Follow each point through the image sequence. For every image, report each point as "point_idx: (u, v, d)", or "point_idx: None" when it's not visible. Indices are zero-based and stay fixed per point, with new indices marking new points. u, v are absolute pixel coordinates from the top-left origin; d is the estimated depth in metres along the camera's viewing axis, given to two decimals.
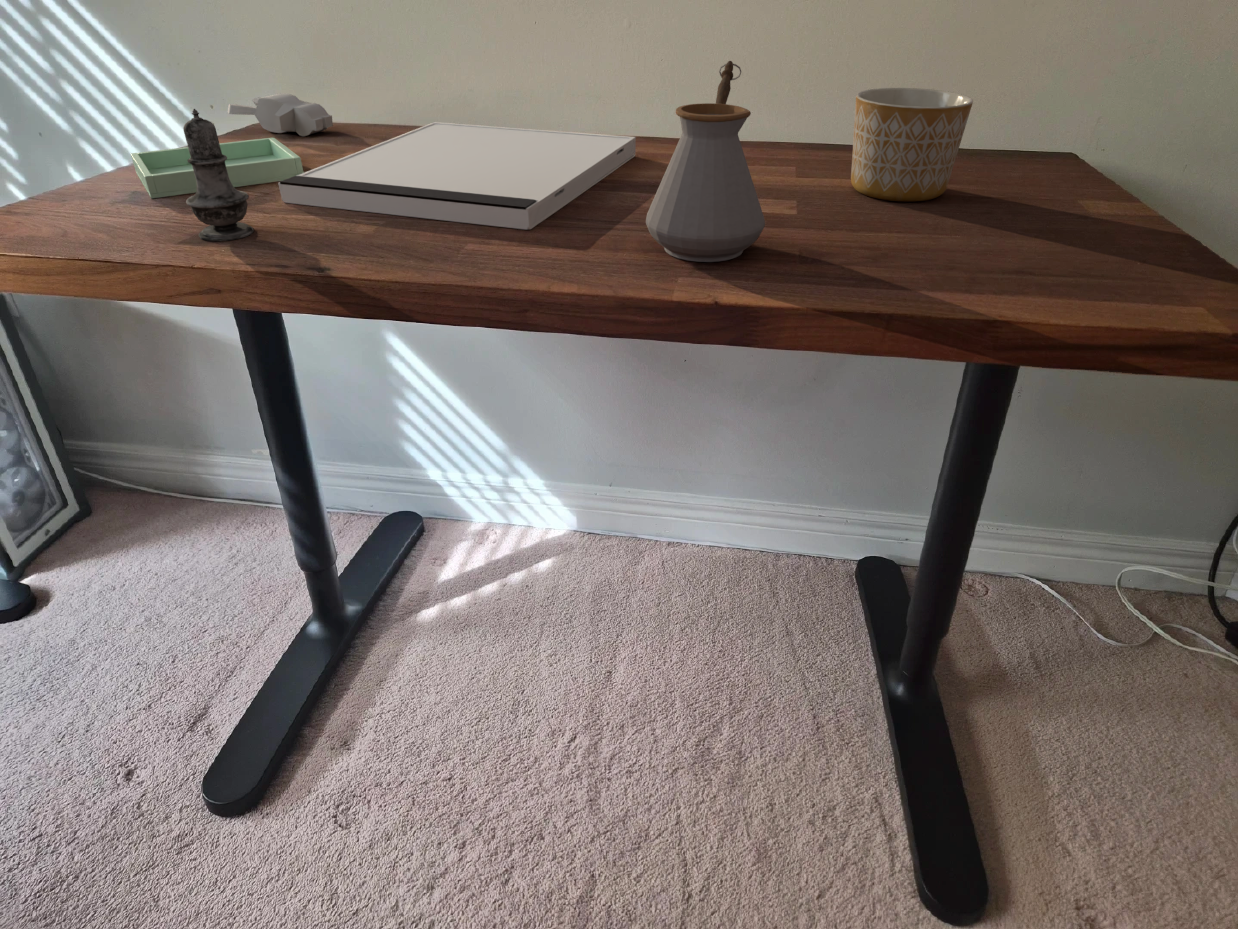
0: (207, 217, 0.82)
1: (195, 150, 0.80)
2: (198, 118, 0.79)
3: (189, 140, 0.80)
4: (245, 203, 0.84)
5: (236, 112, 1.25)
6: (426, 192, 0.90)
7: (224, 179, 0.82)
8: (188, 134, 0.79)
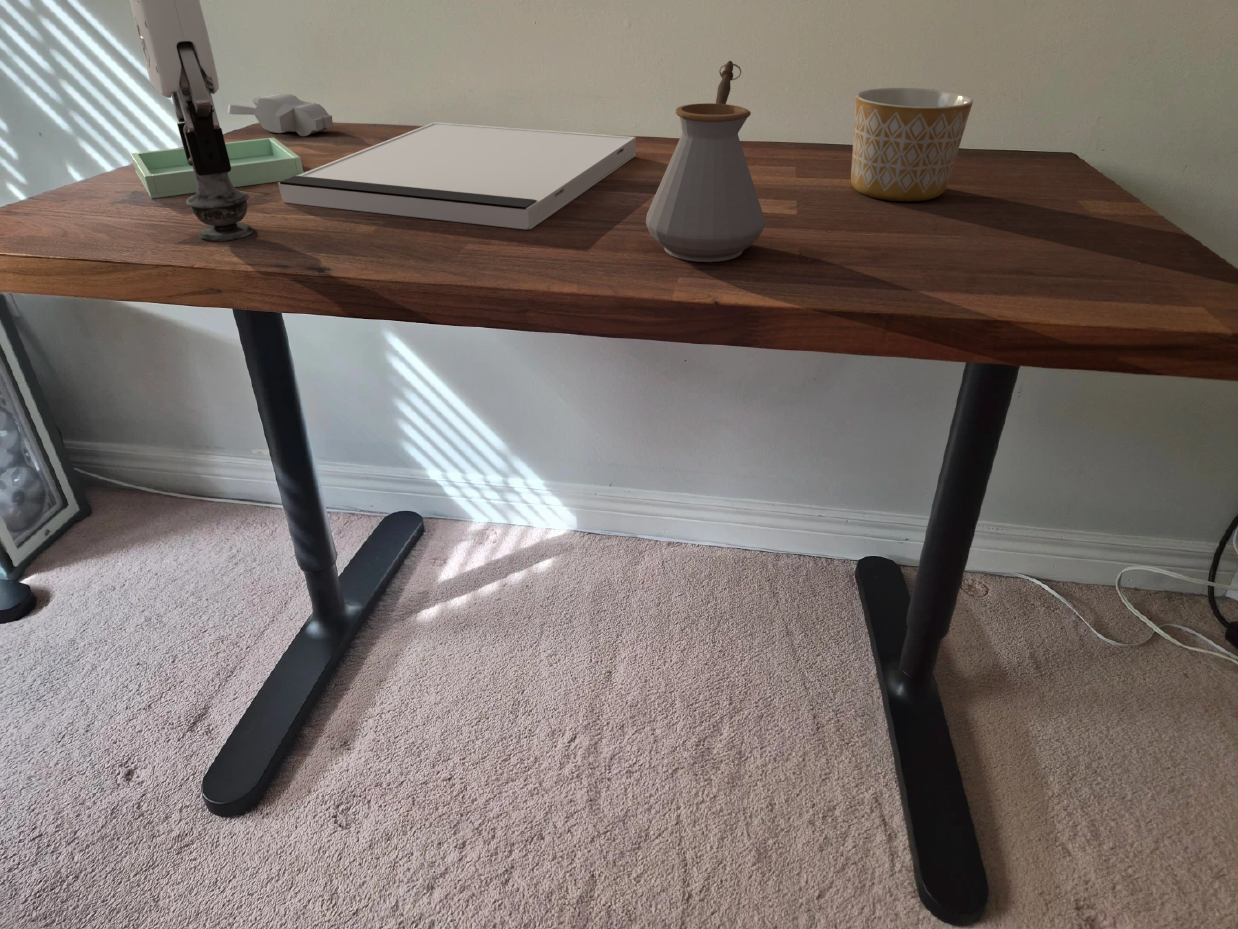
0: (207, 217, 0.82)
1: None
2: None
3: None
4: (245, 203, 0.84)
5: (236, 112, 1.25)
6: (426, 192, 0.90)
7: (224, 179, 0.82)
8: None
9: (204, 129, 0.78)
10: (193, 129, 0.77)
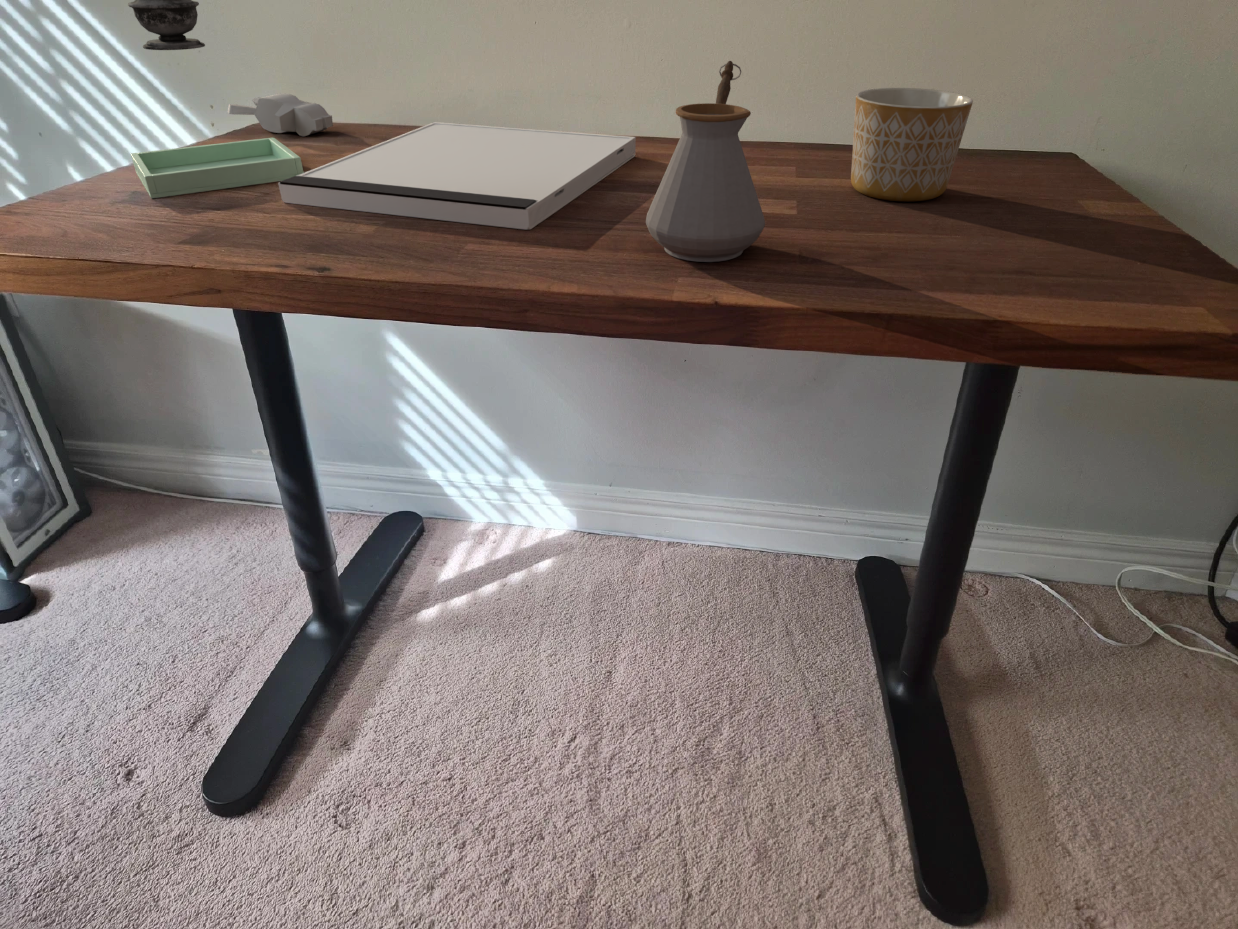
0: (151, 20, 0.74)
1: None
2: None
3: None
4: (194, 10, 0.76)
5: (236, 112, 1.25)
6: (426, 192, 0.90)
7: None
8: None
9: None
10: None
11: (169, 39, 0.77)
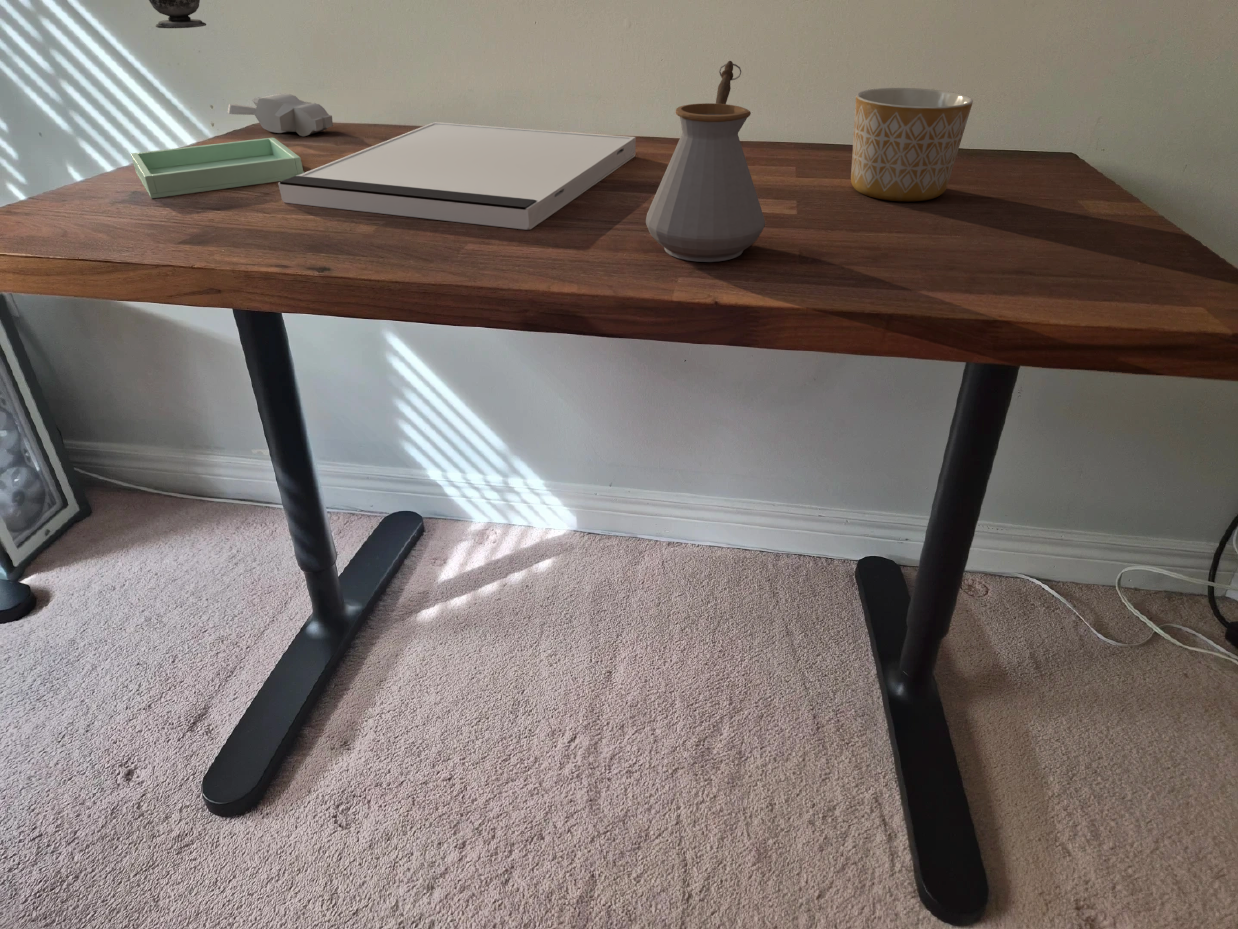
0: (162, 3, 0.91)
1: None
2: None
3: None
4: None
5: (236, 112, 1.25)
6: (426, 192, 0.90)
7: None
8: None
9: None
10: None
11: (177, 19, 0.93)
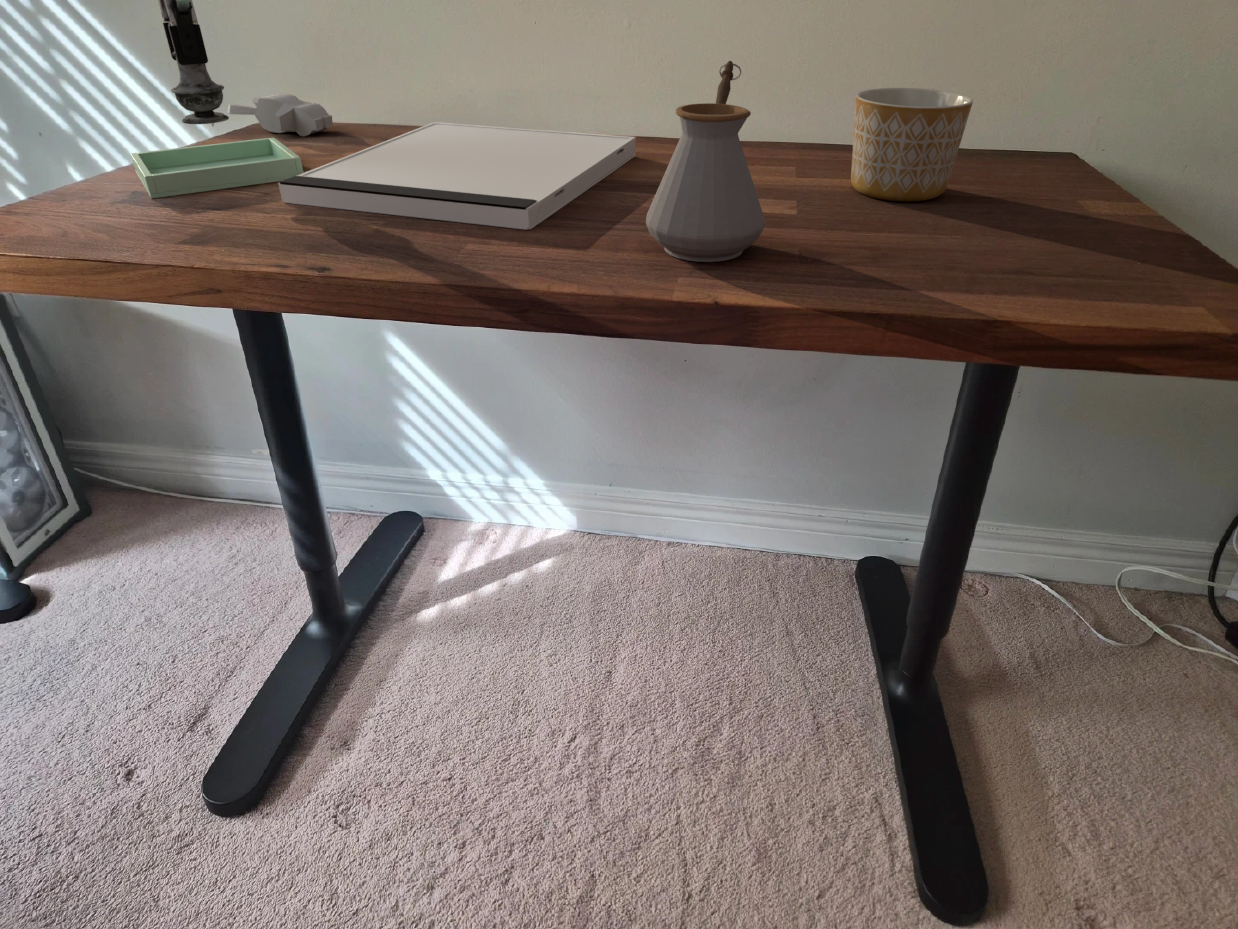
0: (189, 102, 0.98)
1: None
2: None
3: None
4: (221, 93, 1.00)
5: (236, 112, 1.25)
6: (426, 192, 0.90)
7: (202, 70, 0.98)
8: None
9: (184, 23, 0.93)
10: (175, 23, 0.93)
11: (202, 115, 1.00)
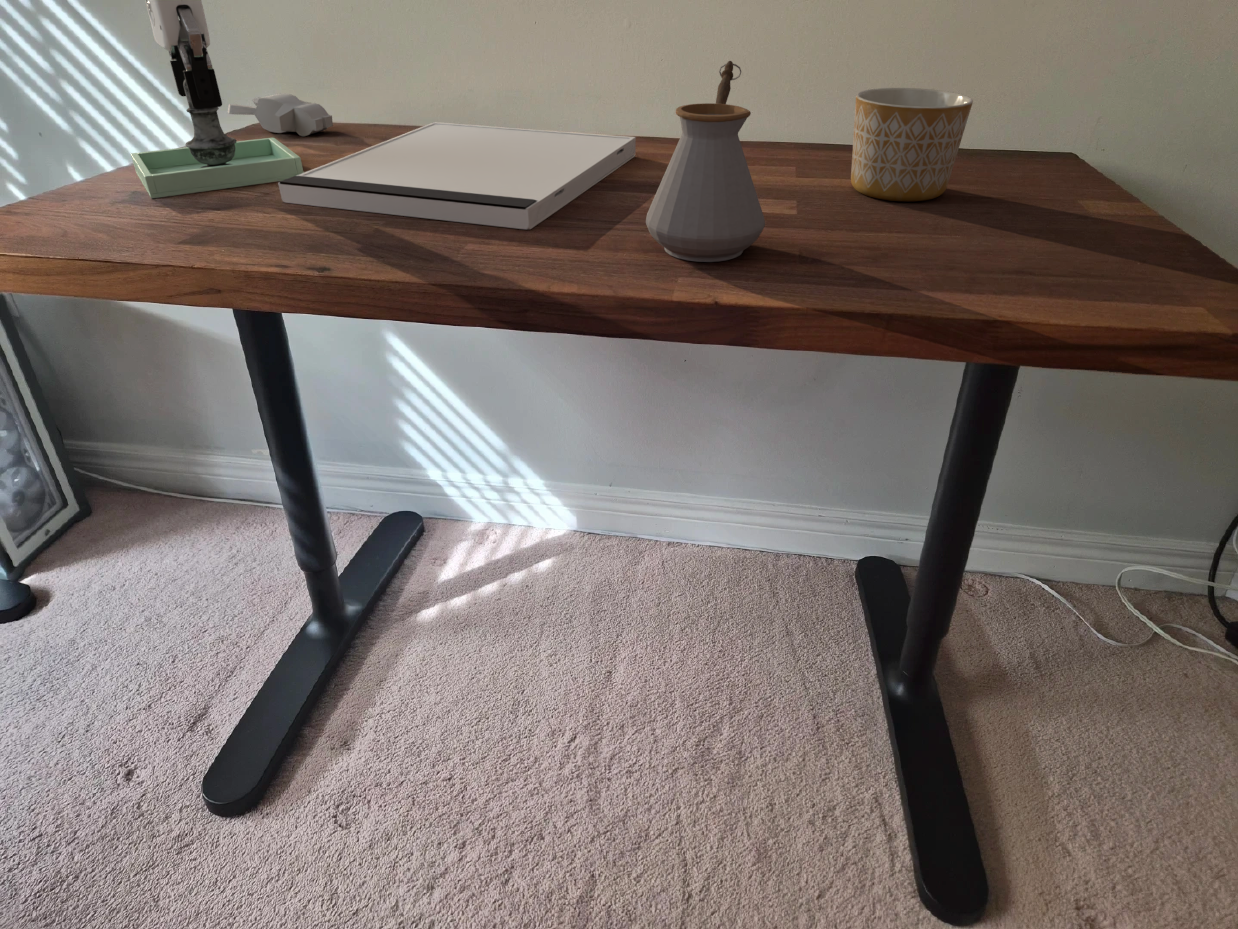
0: (203, 156, 1.02)
1: None
2: None
3: (188, 92, 0.99)
4: (233, 146, 1.04)
5: (236, 112, 1.25)
6: (426, 192, 0.90)
7: (216, 125, 1.01)
8: (187, 88, 0.98)
9: (199, 68, 0.94)
10: (190, 68, 0.93)
11: None
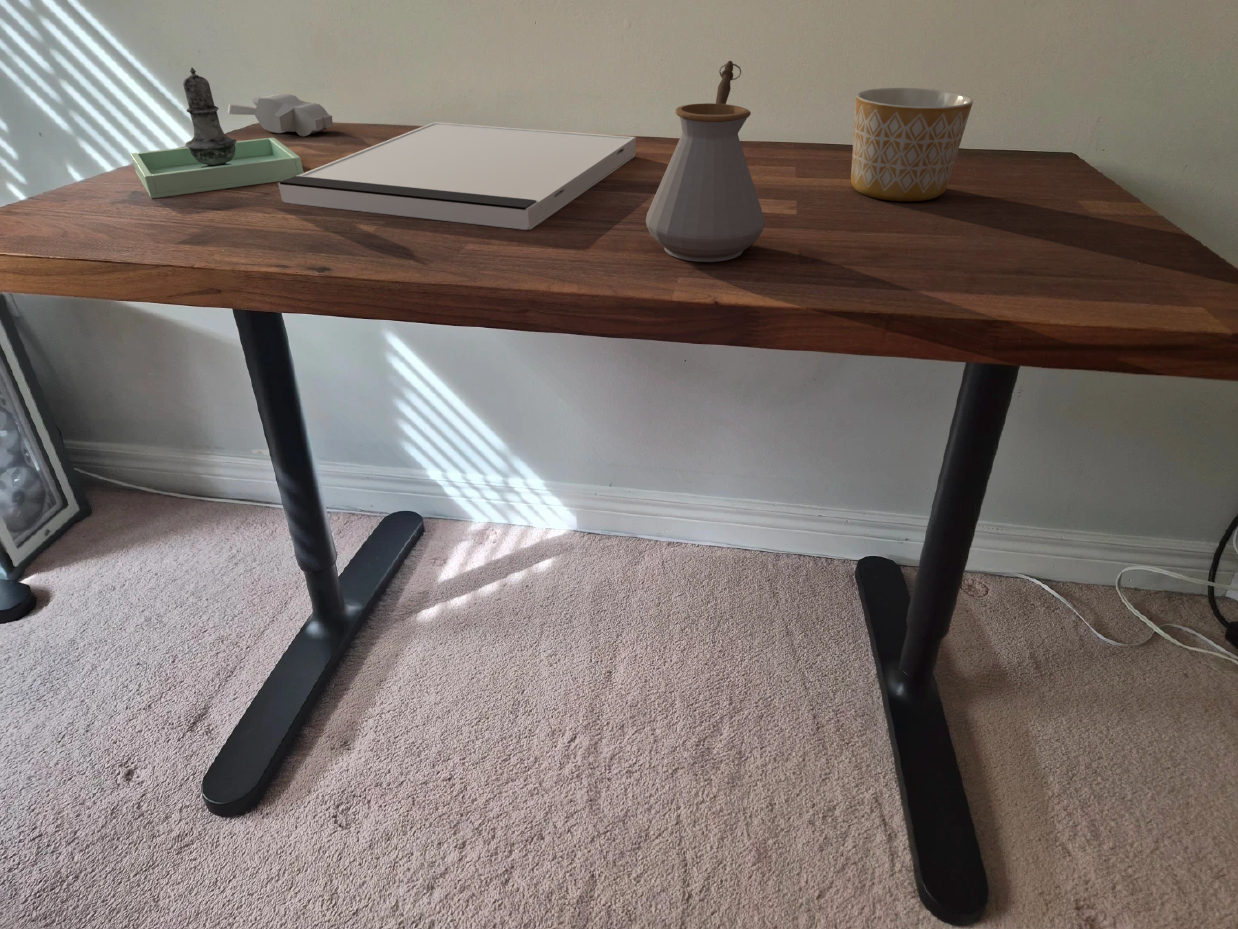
0: (203, 156, 1.02)
1: (192, 101, 0.99)
2: (195, 75, 0.99)
3: (188, 92, 0.99)
4: (233, 146, 1.03)
5: (236, 112, 1.25)
6: (426, 192, 0.90)
7: (216, 125, 1.01)
8: (187, 88, 0.98)
9: None
10: None
11: None
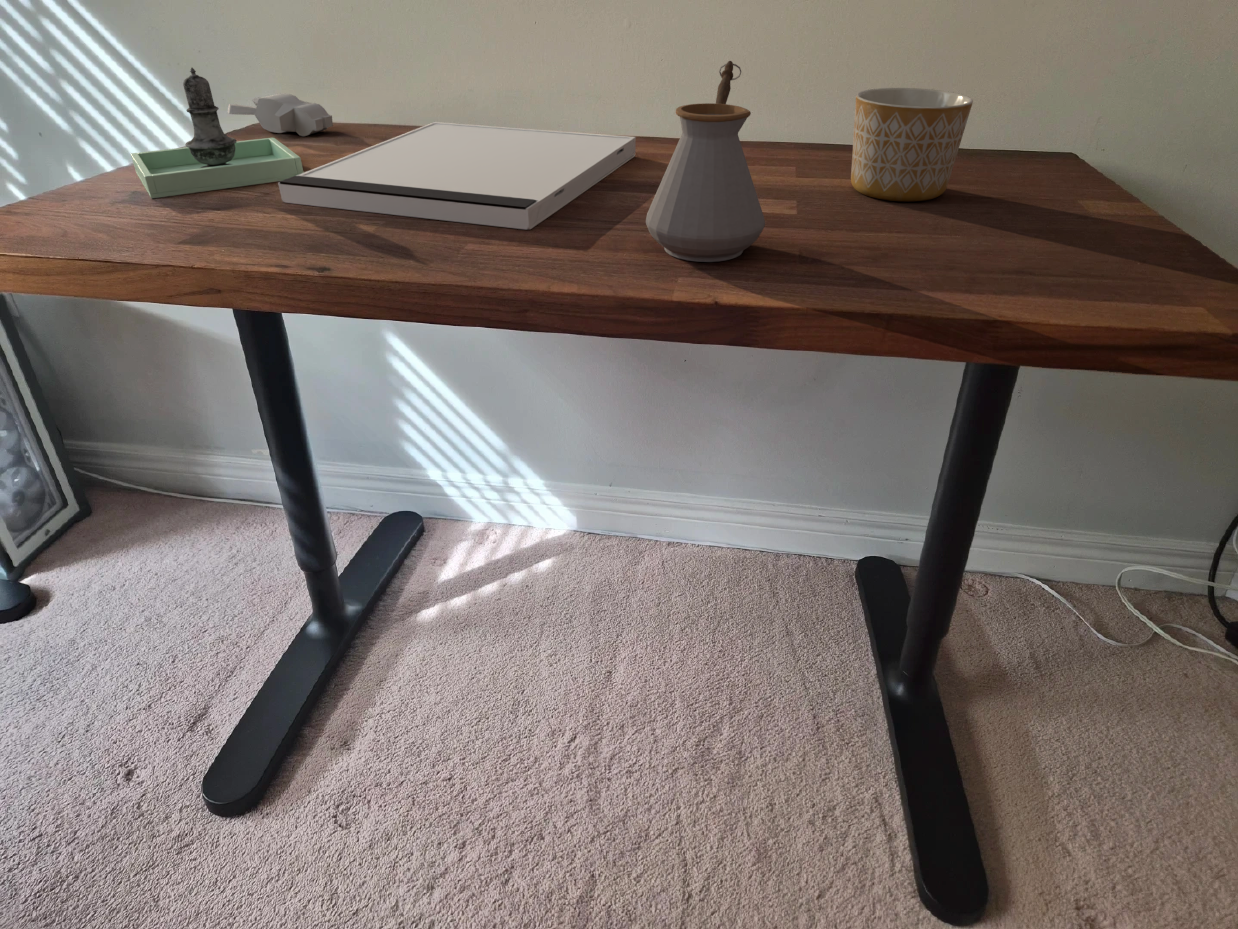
0: (203, 156, 1.02)
1: (192, 101, 0.99)
2: (195, 75, 0.99)
3: (188, 92, 0.99)
4: (233, 146, 1.04)
5: (236, 112, 1.25)
6: (426, 192, 0.90)
7: (216, 125, 1.01)
8: (187, 88, 0.98)
9: None
10: None
11: None
